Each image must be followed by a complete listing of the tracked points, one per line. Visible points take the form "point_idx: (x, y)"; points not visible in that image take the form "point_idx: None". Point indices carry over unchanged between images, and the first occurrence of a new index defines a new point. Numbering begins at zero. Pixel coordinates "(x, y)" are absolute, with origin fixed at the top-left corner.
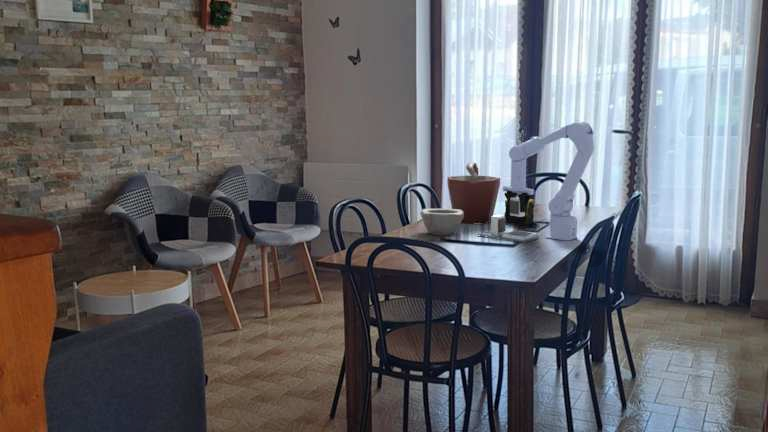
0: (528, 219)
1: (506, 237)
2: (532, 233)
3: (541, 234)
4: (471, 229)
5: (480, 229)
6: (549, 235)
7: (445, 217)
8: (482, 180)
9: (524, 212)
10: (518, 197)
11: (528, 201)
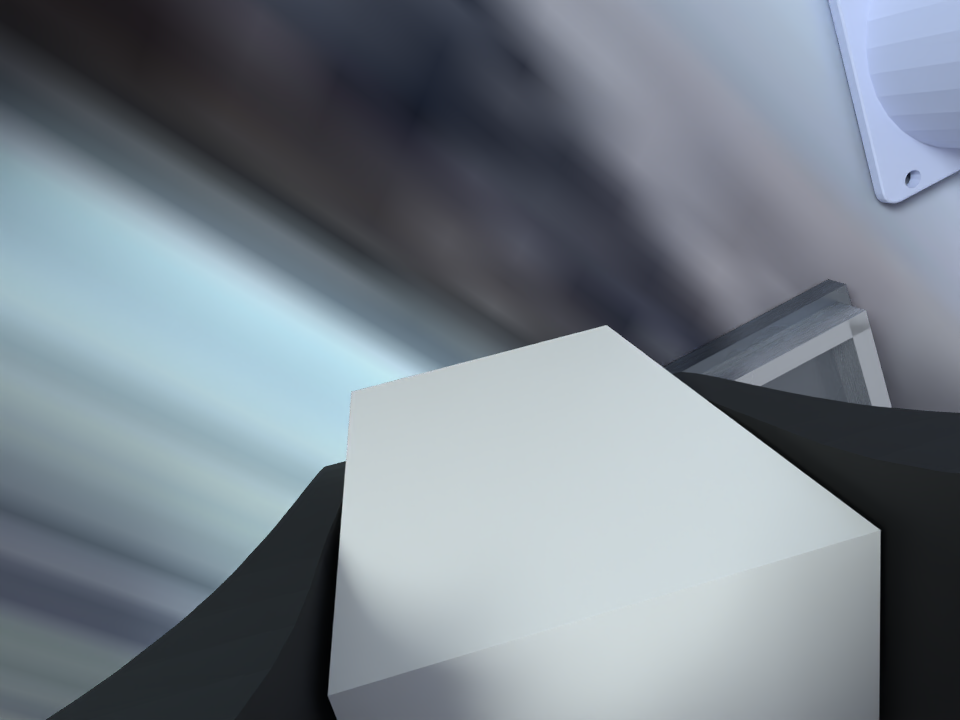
0: None
1: None
2: (817, 350)
3: (680, 84)
4: (25, 712)
5: (55, 623)
6: (871, 105)
7: None
8: None
9: (636, 359)
10: (537, 662)
11: (939, 425)
